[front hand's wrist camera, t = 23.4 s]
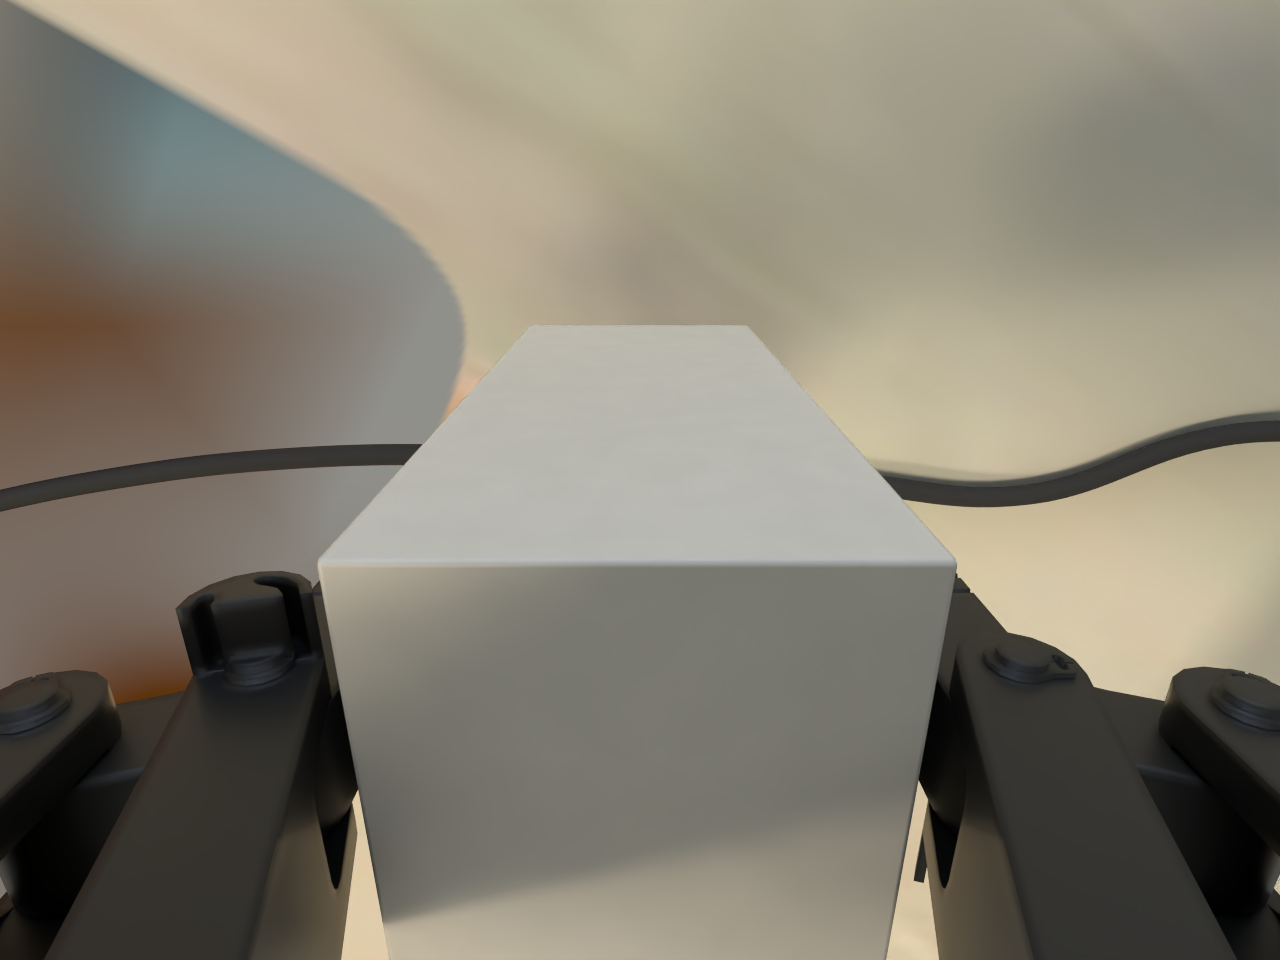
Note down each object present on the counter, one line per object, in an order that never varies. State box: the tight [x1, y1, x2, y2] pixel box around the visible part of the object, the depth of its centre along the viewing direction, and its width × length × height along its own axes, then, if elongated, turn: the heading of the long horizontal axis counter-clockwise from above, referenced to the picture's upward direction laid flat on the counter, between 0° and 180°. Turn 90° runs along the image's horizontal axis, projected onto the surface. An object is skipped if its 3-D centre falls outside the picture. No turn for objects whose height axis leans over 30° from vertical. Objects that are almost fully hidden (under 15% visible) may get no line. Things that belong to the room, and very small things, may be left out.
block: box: [318, 325, 957, 960], centre depth 12 cm, size 6×5×12 cm
